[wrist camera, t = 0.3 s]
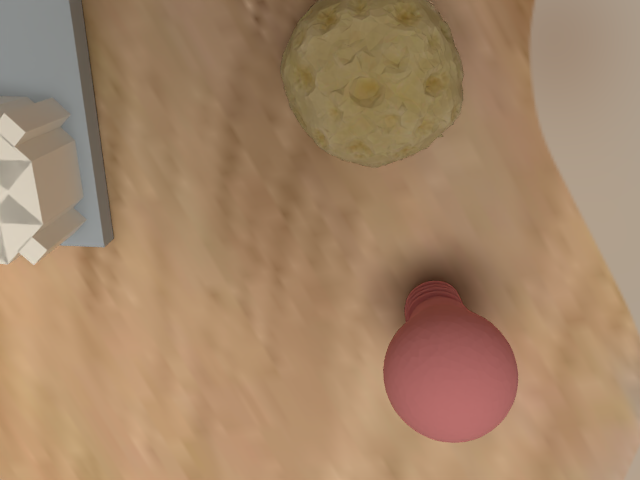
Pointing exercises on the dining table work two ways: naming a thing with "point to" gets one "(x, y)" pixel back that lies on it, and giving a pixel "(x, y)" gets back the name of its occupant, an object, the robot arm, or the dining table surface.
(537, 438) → the dining table surface
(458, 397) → the light bulb
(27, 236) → the gear
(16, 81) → the gear board
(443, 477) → the dining table surface
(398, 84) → the decorative item
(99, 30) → the dining table surface
